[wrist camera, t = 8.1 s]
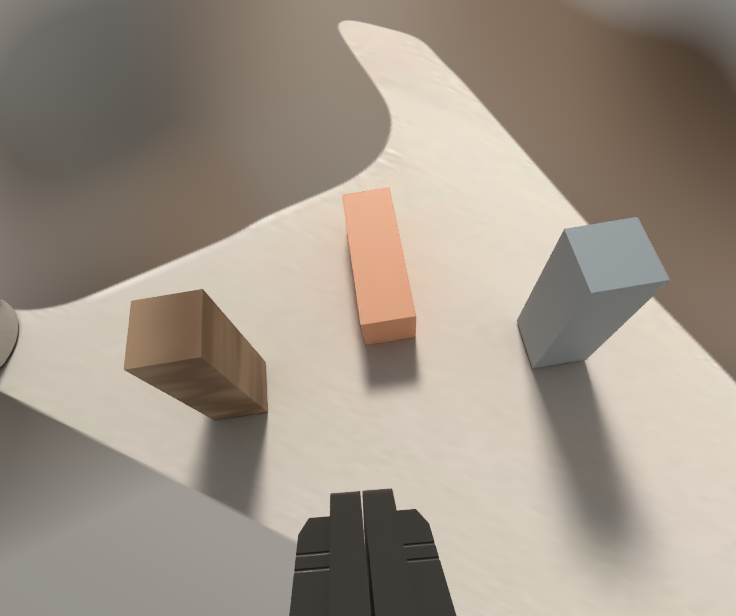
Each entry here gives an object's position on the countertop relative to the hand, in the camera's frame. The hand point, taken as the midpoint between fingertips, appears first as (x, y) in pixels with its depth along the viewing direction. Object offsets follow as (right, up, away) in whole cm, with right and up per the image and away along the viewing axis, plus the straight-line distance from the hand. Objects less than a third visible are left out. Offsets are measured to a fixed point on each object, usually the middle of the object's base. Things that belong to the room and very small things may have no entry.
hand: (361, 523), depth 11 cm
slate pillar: (+14, +3, +23) cm, 27 cm away
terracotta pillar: (+2, +3, +23) cm, 23 cm away
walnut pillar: (-10, -1, +24) cm, 26 cm away
